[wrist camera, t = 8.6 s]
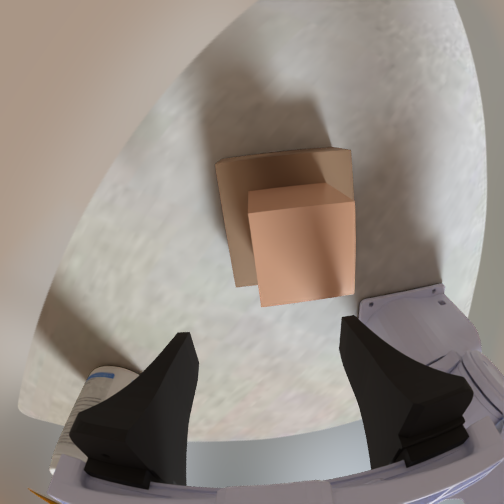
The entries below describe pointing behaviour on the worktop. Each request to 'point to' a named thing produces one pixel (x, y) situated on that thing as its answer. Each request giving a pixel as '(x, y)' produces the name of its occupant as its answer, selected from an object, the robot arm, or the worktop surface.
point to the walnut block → (266, 177)
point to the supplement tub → (93, 392)
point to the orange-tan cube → (302, 243)
